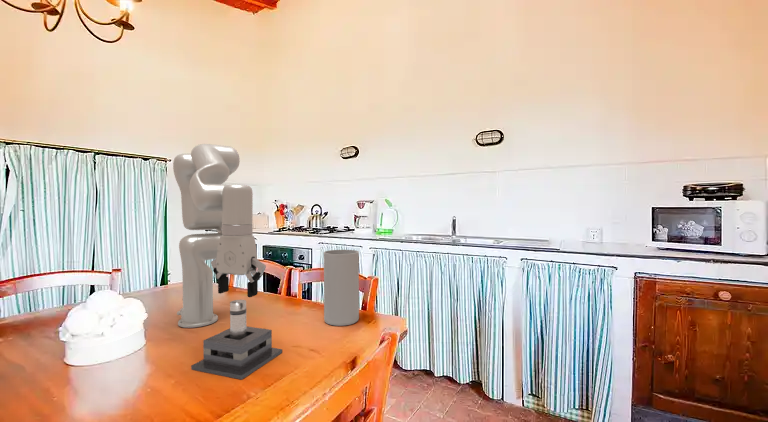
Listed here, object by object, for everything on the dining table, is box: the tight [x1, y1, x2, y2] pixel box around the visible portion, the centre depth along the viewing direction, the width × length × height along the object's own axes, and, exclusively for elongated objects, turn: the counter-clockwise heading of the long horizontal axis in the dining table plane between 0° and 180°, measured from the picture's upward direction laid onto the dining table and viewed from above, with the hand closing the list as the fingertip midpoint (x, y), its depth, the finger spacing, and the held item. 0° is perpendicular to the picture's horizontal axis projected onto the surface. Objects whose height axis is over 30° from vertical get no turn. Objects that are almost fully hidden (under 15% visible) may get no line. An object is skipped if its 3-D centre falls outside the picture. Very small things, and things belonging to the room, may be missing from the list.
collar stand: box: [190, 325, 283, 380], centre depth 93 cm, size 16×16×7 cm
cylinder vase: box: [323, 249, 360, 327], centre depth 125 cm, size 12×12×25 cm
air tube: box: [229, 299, 247, 340], centre depth 93 cm, size 4×4×15 cm
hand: (237, 294), depth 93 cm, fingers open, 9 cm apart
